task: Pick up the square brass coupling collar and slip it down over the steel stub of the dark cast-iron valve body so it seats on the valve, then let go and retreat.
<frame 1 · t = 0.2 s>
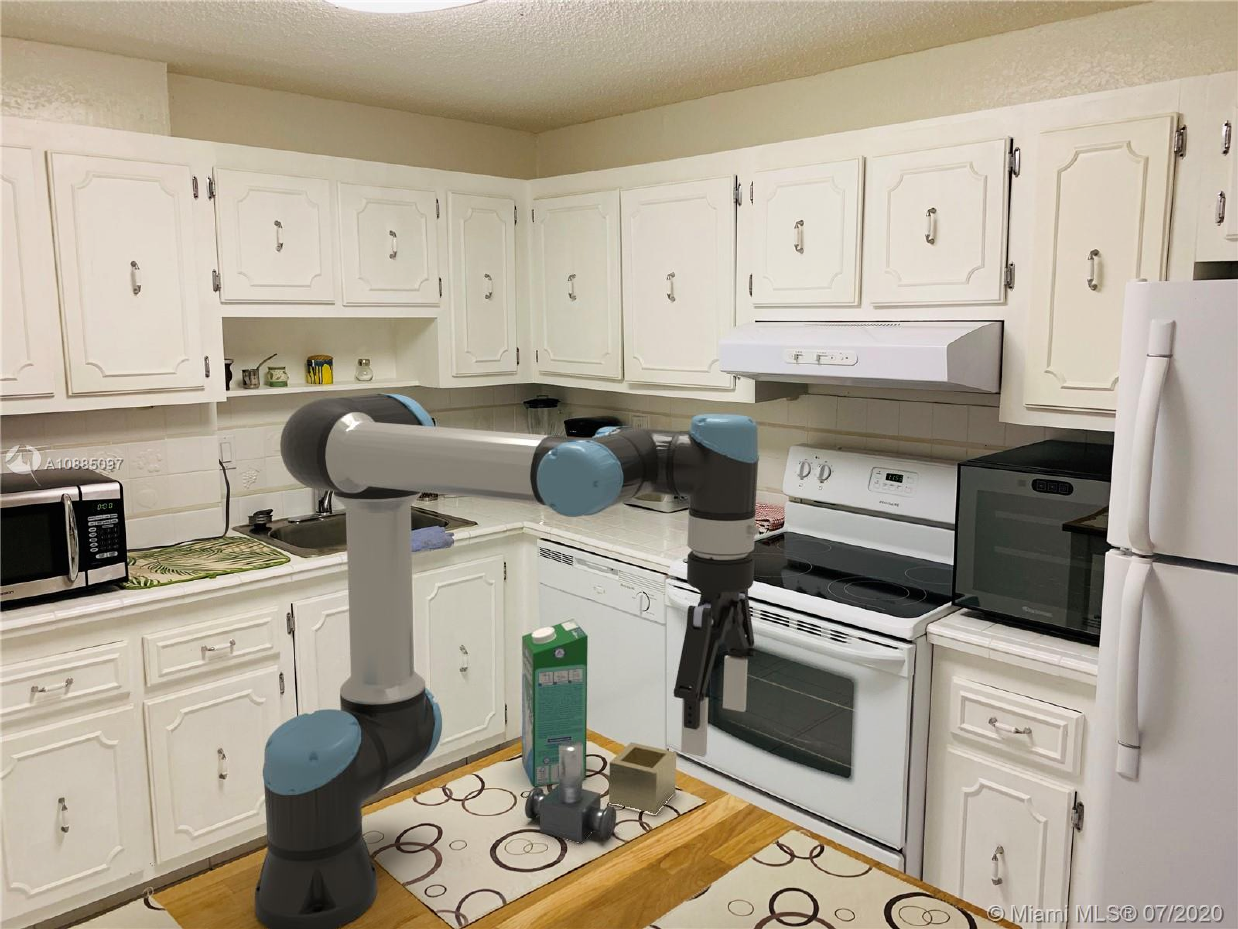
hand: (715, 730, 107), 28 cm above the table, fingers open, 13 cm apart
collar: (642, 799, 146), on the table
valve: (570, 828, 137), on the table
milk carton: (553, 772, 155), on the table
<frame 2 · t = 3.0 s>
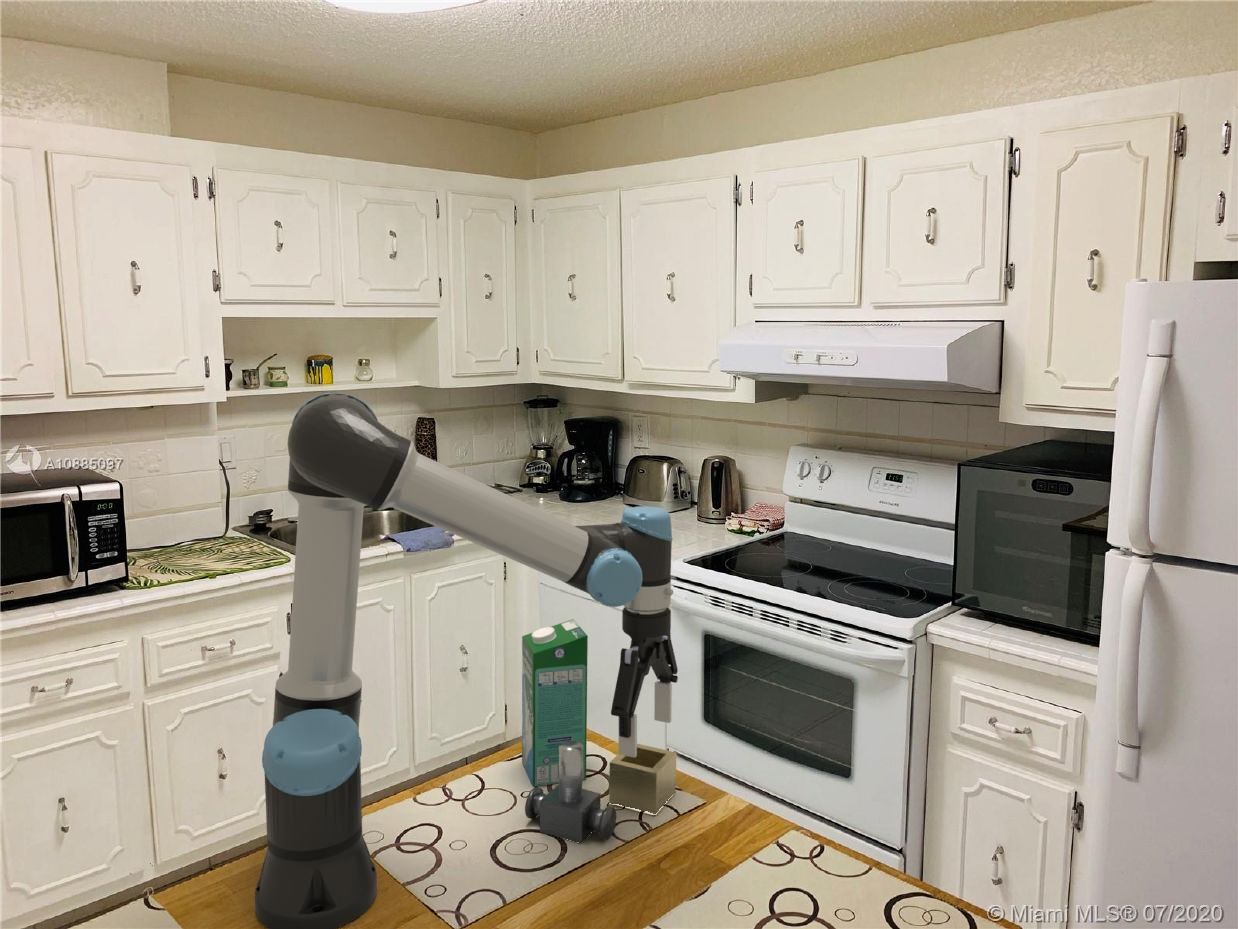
hand: (646, 737, 145), 10 cm above the table, fingers open, 13 cm apart
nothing on the table moved.
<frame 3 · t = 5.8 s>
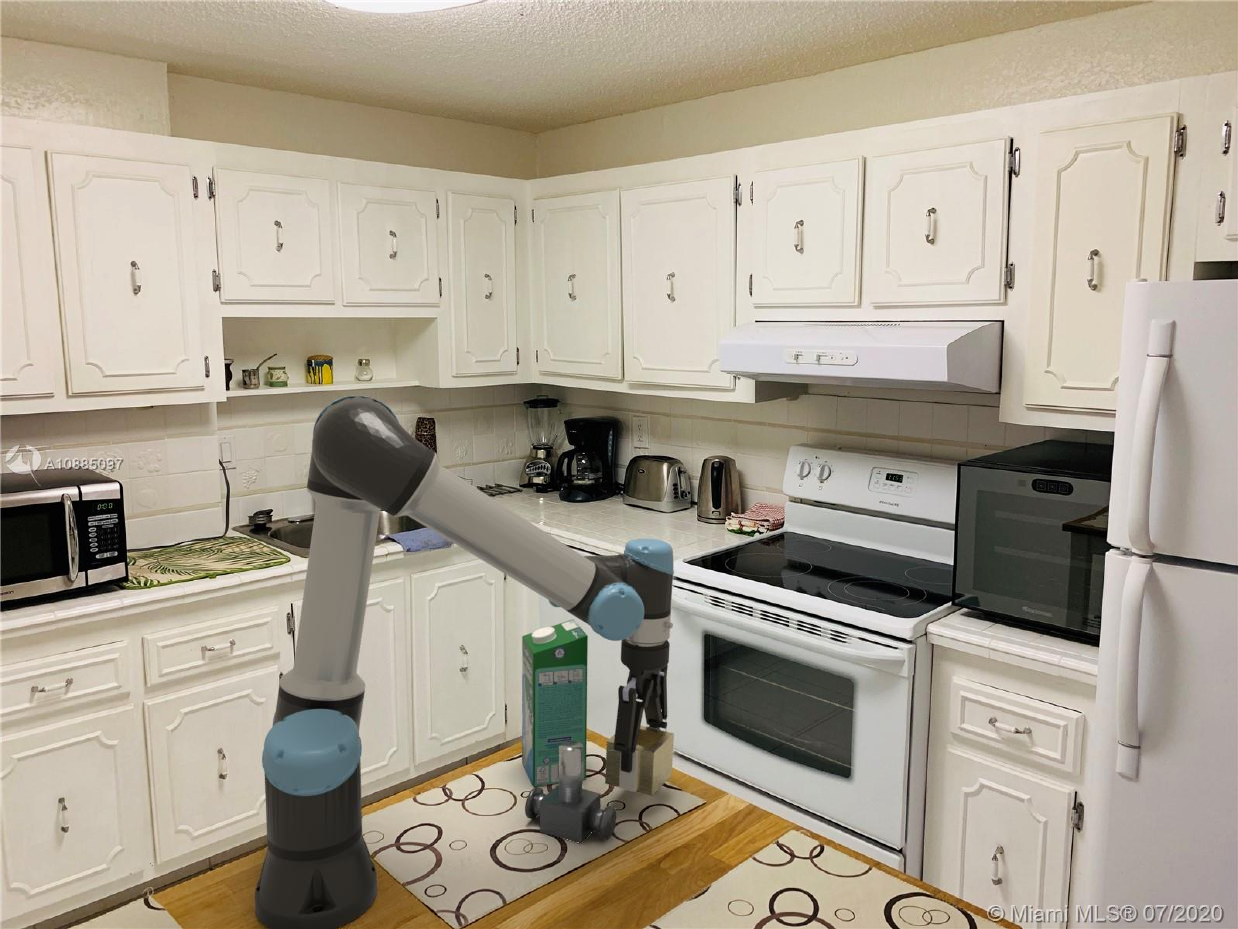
hand: (639, 777, 145), 4 cm above the table, fingers closed on collar, 8 cm apart
collar: (638, 779, 146), point 3 cm above the table, touching gripper
everything else where it was.
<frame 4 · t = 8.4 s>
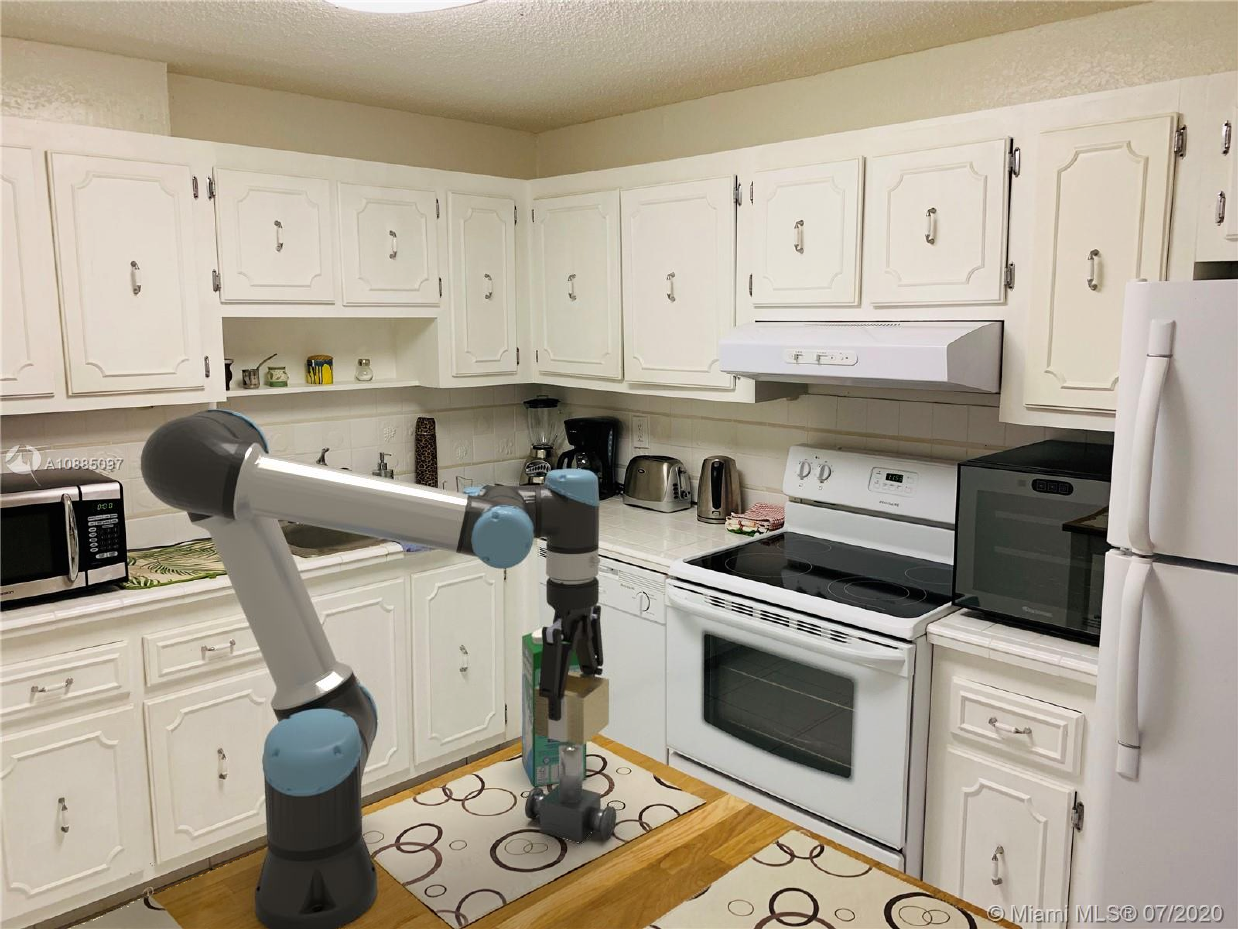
hand: (572, 727, 135), 16 cm above the table, fingers closed on collar, 8 cm apart
collar: (572, 729, 135), point 16 cm above the table, touching gripper
everything else where it was.
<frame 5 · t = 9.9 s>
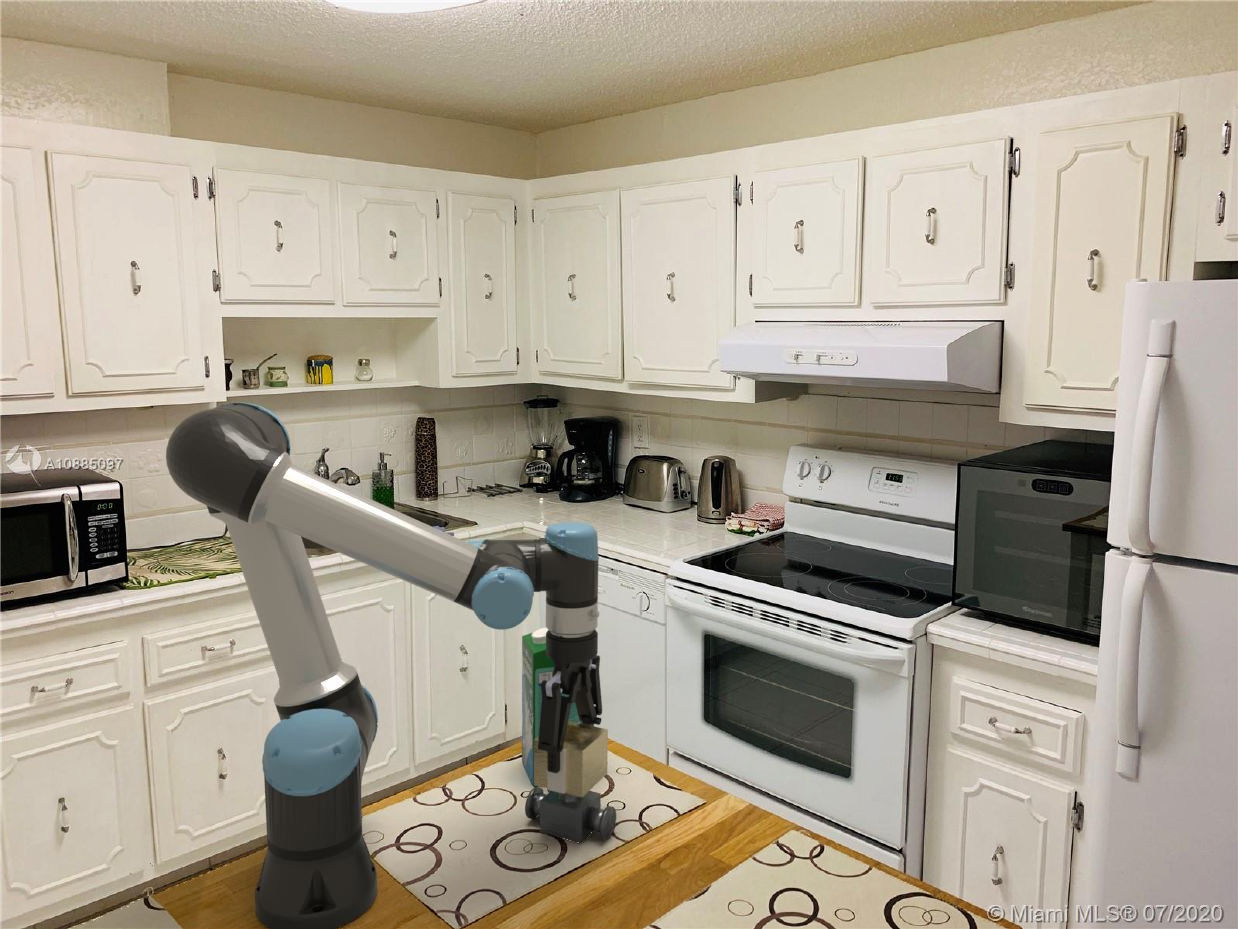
hand: (571, 777, 136), 8 cm above the table, fingers closed on collar, 8 cm apart
collar: (571, 779, 136), point 8 cm above the table, touching gripper
everything else where it was.
when the fingers open (6 cm above the table, at t = 11.1 s): collar stays where it is, resting on valve.
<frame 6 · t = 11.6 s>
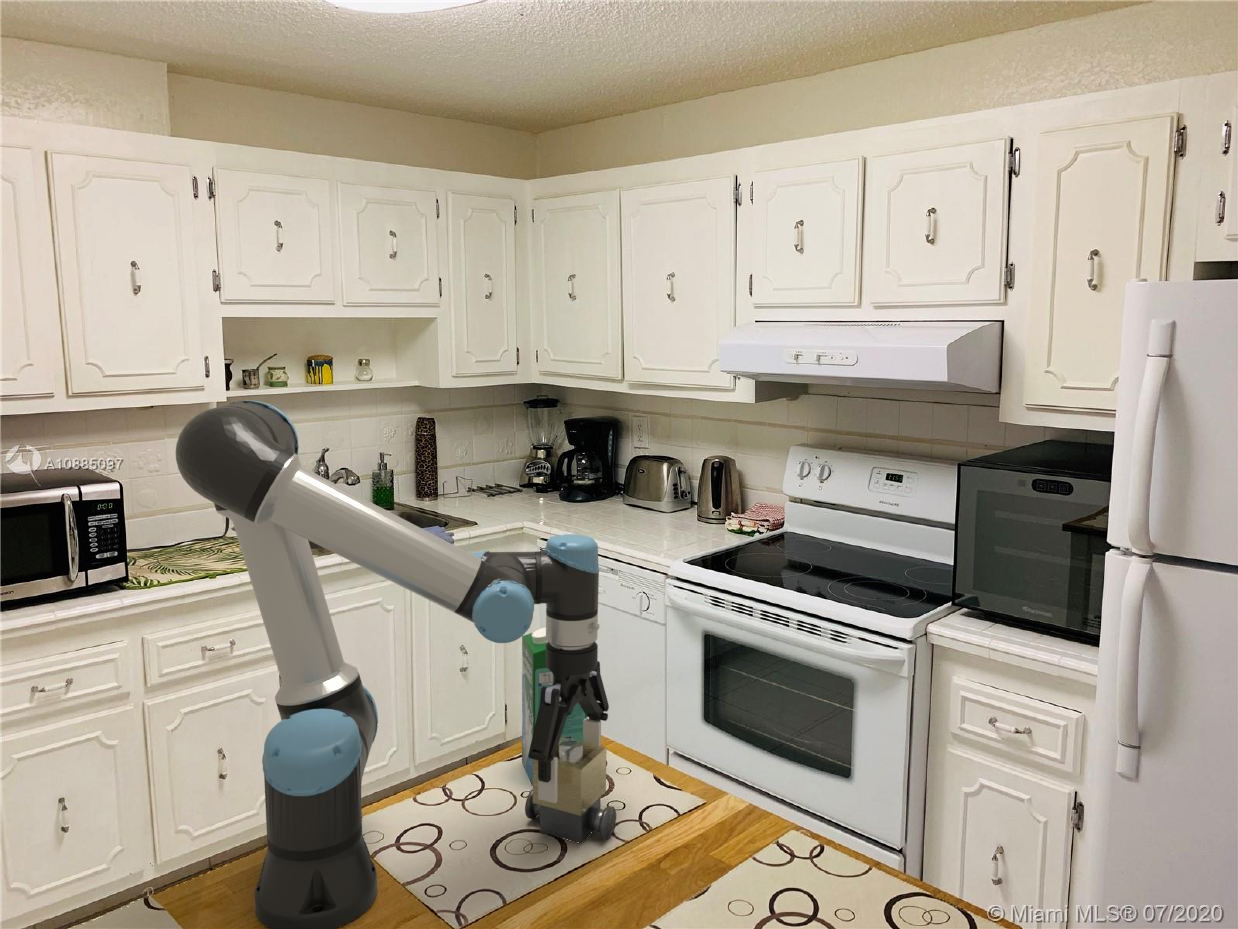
hand: (570, 780, 136), 8 cm above the table, fingers open, 13 cm apart
collar: (569, 797, 136), point 5 cm above the table, touching valve
everything else where it was.
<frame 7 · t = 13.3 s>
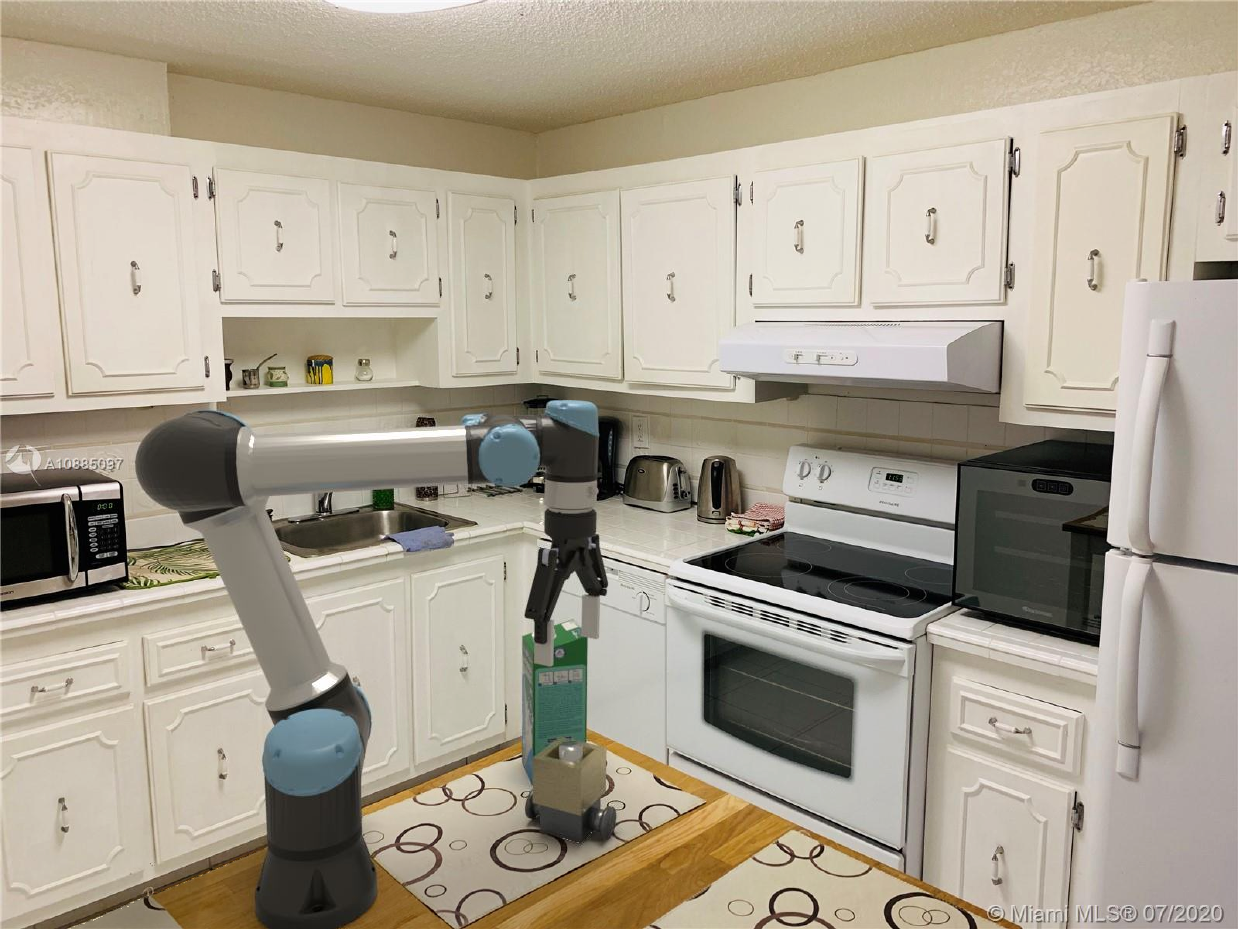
hand: (567, 650, 135), 27 cm above the table, fingers open, 13 cm apart
nothing on the table moved.
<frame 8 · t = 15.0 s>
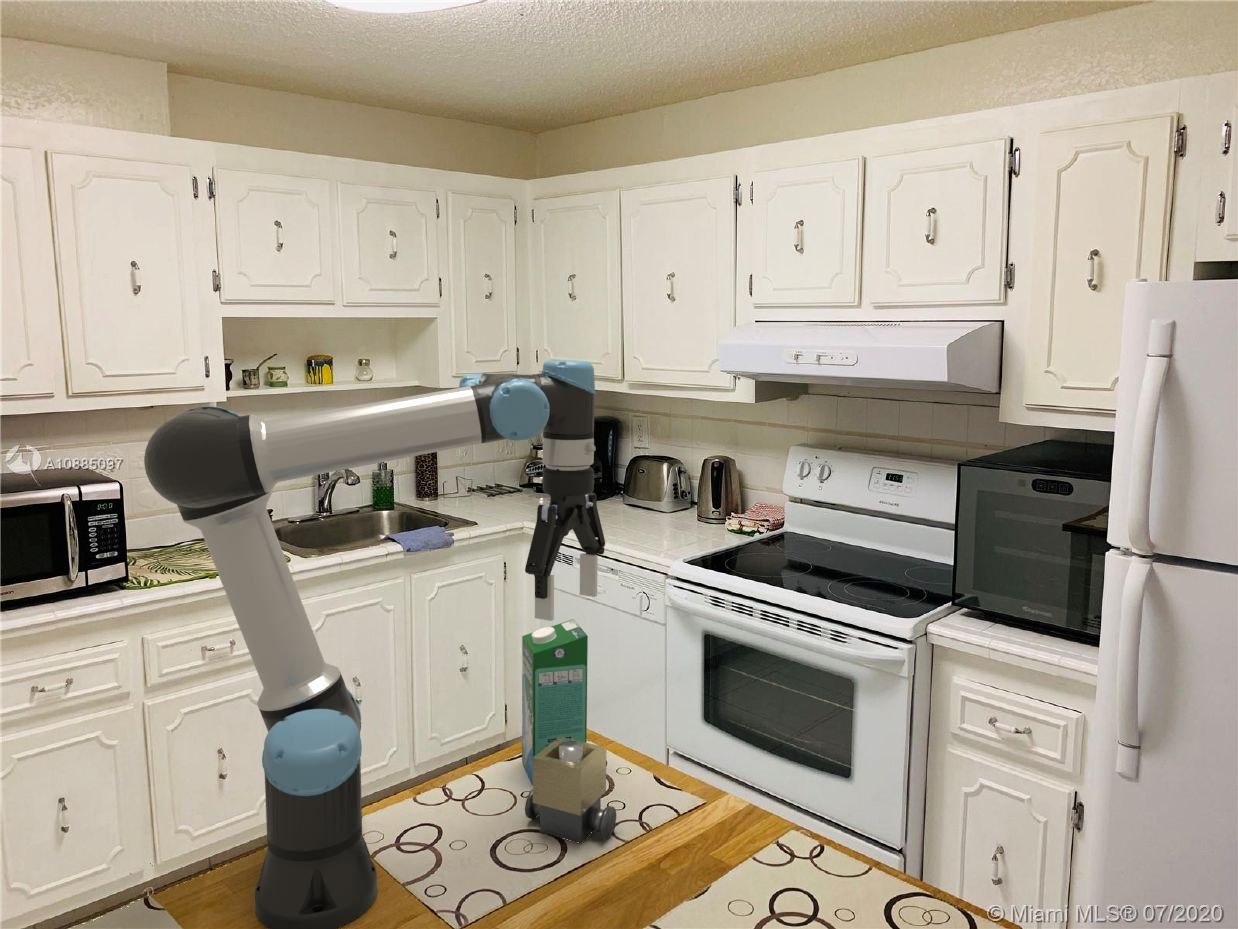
hand: (567, 606, 137), 33 cm above the table, fingers open, 13 cm apart
nothing on the table moved.
at the end: collar 0.1 cm off-centre on the valve, point 5.0 cm above the valve's base; collar tilted 0°; the gripper is holding nothing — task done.
